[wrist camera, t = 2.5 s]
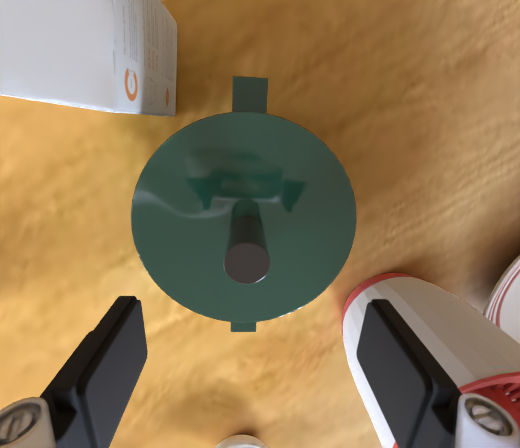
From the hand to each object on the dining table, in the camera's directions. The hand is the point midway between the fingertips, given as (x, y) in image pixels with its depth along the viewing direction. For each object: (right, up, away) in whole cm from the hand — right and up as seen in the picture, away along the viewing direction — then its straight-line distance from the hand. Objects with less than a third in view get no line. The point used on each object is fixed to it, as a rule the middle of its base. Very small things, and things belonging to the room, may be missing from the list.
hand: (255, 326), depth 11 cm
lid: (-1, +4, +10) cm, 11 cm away
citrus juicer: (+18, -7, +26) cm, 32 cm away
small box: (-11, +19, +14) cm, 26 cm away
